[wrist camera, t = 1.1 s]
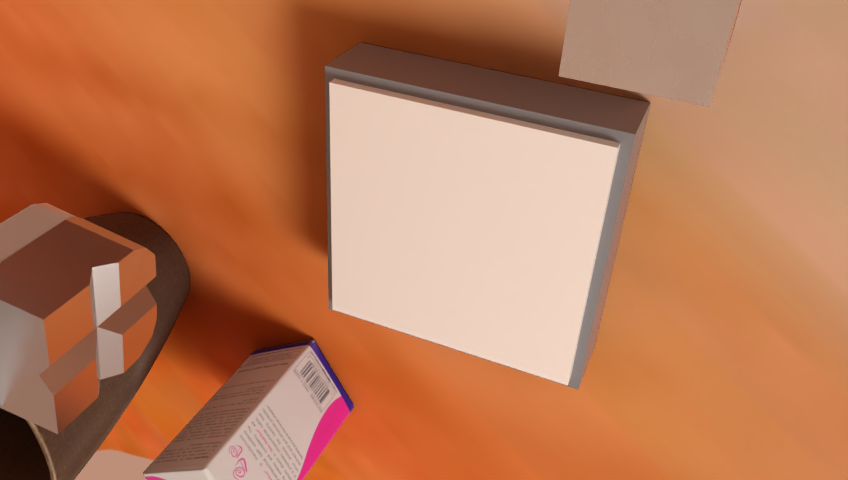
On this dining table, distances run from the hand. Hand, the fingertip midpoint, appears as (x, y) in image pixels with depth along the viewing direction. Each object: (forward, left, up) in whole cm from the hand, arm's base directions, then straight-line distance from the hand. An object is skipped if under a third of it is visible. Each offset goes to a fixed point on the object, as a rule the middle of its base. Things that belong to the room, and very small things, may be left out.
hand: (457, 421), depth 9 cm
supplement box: (+19, +31, -28) cm, 46 cm away
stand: (+8, +14, -27) cm, 32 cm away
